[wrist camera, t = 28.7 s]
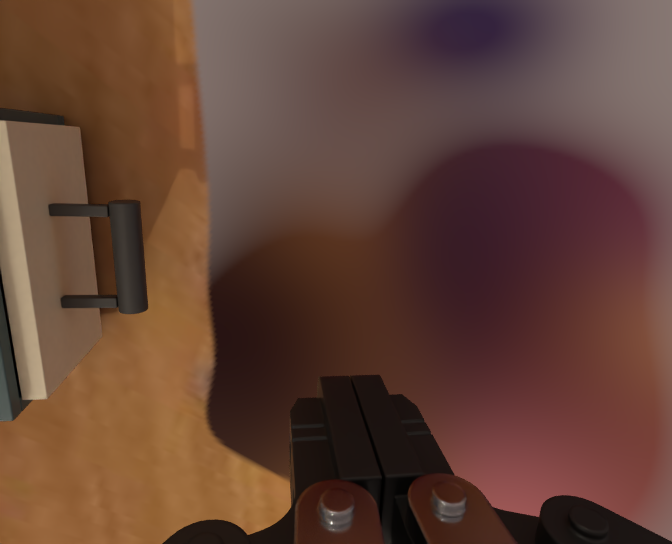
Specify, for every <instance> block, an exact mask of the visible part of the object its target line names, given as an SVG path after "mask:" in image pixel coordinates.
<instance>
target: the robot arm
mask: <svg viewBox="0 0 672 544" xmlns="http://www.w3.org/2000/svg"><path fill="white" fill-rule="evenodd" d="M289 452H290V453H289V458H290V459H289V469H290V490H291V508H290V510H289V511H288V513H287V514H286V515H285V516H284V517H283V518H282V519H281V520H279V521H278V522H277V523H275V524H274V525H272V526H270V527H268V528H266V529H264V530H261V531H259V532H256V533H253V534H250V535H247V534H246V533H245V532H244V530H243V529H241V528H240V527H239V526H237V525H235V524H233V523H231V522H228V521H224V520H205V521H200V522H196V523H193V524H190V525H188V526H186V527H184V528H182V529H181V530H179V531H177V532H176V533H175V534H173V535H172V536H171V537H170V538H168V539H167V540H166V541H165V542H164V543H163V544H672V542H671V541H669V540H667V539H665V538H663V537H661V536H659V535H657V534H655V533H653V532H652V531H649V530H647V529H646V528H643V527H642V526H640V525H638V524H636V523H634V522H632V521H630V520H628V519H626V518H624V517H622V516H620V515H618V514H616V513H614V512H612V511H610V510H608V509H606V508H604V507H602V506H600V505H598V504H596V503H594V502H592V501H589V500H586V499H583V498H579V497H575V496H566V495H565V496H564V495H562V496H555V497H552V498H549V499H548V500H546V501H545V502H544V503H543V505H542V507H541V511H540V516H539V517H536V516H530V515H525V514H520V513H514V512H509V511H504V510H500V509H497V508H494V507H492V506H491V504H490V503H489V501H488V500H487V499H486V497H485V496H484V495H483V493H482V492H481V491H480V490H479V489H478V488H477V487H476V486H474V485H473V484H471V483H470V482H468V481H466V480H465V479H462V478H460V477H458V476H455V475H454V473H453V471H452V470H451V468H450V466H449V464H448V462H447V461H446V459H445V457H444V455H443V453H442V451H441V449H440V448H439V446H438V444H437V442H436V440H435V439H434V437H433V435H431V431H430V429H429V428H428V426H427V424H426V423H425V422H424V418H423V417H422V415H421V413H420V411H419V409H418V408H417V406H416V405H415V404H414V403H412V402H411V401H410V400H408V399H407V398H406V397H404V396H403V395H402V394H397V395H389V393H388V391H387V389H386V387H385V385H384V383H383V380H382V378H381V376H380V375H356V376H350V377H349V376H330V377H329V376H327V377H319V378H318V387H317V398H298V399H297V401H296V403H295V404H294V406H293V407H292V409H291V411H290V451H289Z"/></svg>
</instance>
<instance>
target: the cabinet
mask: <svg viewBox="0 0 672 544" xmlns="http://www.w3.org/2000/svg"><path fill="white" fill-rule="evenodd" d="M0 120H3V121H16V122H28V123H40V124H52V125H63V126H65V124H64V117H63V116H60V115H52V114H44V113H36V112H29V111H21V110H13V109H6V108H0ZM31 401H32V400H22V396H21V390H20V384H19V378H18V372H17V366H16V367H15V368H14V364H13V358H12V352H11V346H10V340H9V334H8V328H7V323H6V317H5V311H4V305H3V299H2V293H1V287H0V421H13V420H14V419H15V418H16V417H17V416H18V415H19V414H20V413H21V411H23V410H24V409H25V408H26V407H27V406H28V404H29V403H30V402H31Z"/></svg>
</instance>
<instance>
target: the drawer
mask: <svg viewBox="0 0 672 544" xmlns="http://www.w3.org/2000/svg"><path fill="white" fill-rule="evenodd" d="M109 216H110V225H111V235H112V246H113V256H114V267H115V277H116V287H117V295H98V290H97V281H96V271H95V262H94V253H93V244H92V234H91V225H90V217H109ZM0 270H1V276H2V282H3V284H1V285H0V287H1V293H2V299H3V305H4V311H5V317H6V323H7V328H8V334H9V340H10V346H11V352H12V358H13V364H14V368H15V367H16V366H17V372H18V378H19V384H20V390H21V396H22V400H34V399H48V398H49V396H50V395H51V394H52V393H53V392H54V391H55V390H56V389H57V387H58V386H59V385H60V384H61V383H62V382H63V381H64V379H65V378H66V377H67V376H68V375H69V374H70V373H71V371H72V370H73V369H74V368H75V367H76V366H77V365H78V364H79V362H80V361H81V360H82V359H83V358H84V357H85V356H86V354H87V353H88V352H89V351H90V350H91V349H92V348H93V346H94V345H95V344H96V343H97V342H98V341H99V340H100V339H101V337H102V327H101V318H100V308H117V307H118V308H119V312H120V313H123V314H137V313H141V312H144V311H146V310H147V309H148V299H147V286H146V273H145V260H144V247H143V234H142V221H141V208H140V201H137V200H113V201H109V202H108V204H88V197H87V188H86V179H85V169H84V160H83V151H82V141H81V132H80V127H75V126H63V125H52V124H40V123H28V122H16V121H3V120H0Z"/></svg>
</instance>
